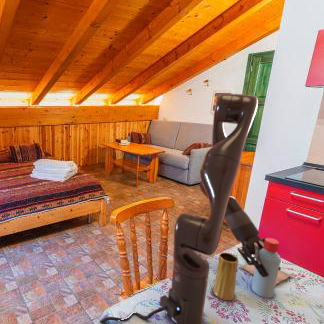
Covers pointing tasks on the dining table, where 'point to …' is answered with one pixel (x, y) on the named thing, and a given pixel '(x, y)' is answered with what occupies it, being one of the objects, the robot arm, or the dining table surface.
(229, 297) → the vase
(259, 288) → the bottle
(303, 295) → the dining table surface
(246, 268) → the coaster
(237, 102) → the robot arm
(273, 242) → the cap
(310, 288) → the dining table surface
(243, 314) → the dining table surface
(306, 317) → the dining table surface
